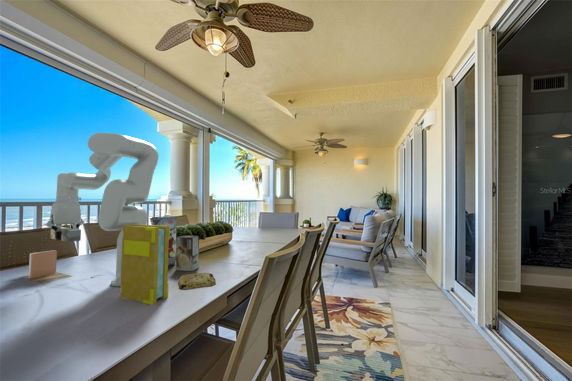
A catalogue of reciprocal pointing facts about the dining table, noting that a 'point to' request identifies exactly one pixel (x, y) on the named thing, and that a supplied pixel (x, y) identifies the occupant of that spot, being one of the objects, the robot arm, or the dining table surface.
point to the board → (48, 277)
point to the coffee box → (187, 253)
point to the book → (145, 263)
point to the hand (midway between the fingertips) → (65, 238)
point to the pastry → (196, 281)
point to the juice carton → (171, 222)
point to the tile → (42, 263)
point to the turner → (68, 234)
